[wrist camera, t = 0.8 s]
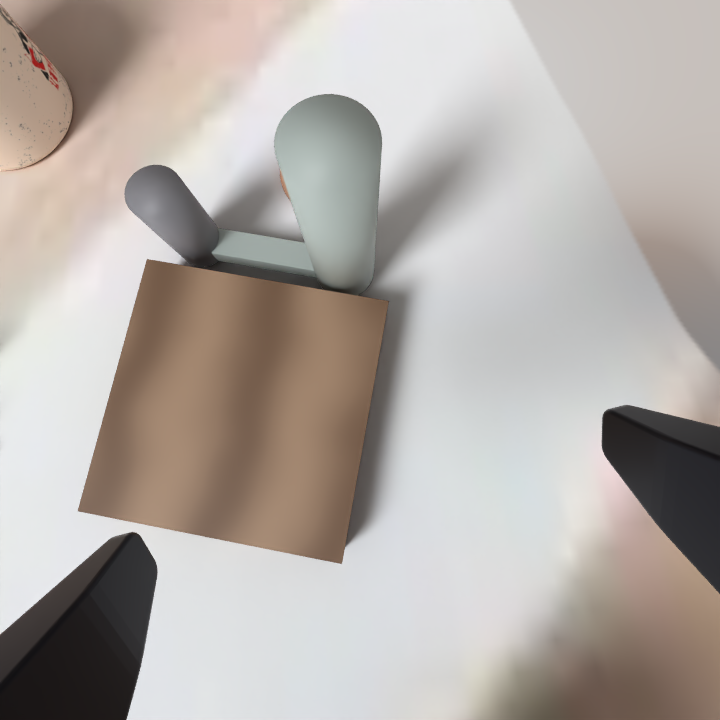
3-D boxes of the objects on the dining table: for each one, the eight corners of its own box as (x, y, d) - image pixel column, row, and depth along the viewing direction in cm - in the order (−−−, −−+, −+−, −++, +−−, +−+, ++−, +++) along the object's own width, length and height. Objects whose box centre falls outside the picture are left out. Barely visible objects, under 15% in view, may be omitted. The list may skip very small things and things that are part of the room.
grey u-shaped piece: (174, 268, 25) (14, 141, 14) (188, 215, 25) (46, 49, 14) (368, 302, 24) (371, 200, 13) (378, 247, 25) (390, 102, 14)
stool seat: (108, 501, 23) (77, 511, 21) (210, 117, 27) (194, 86, 25) (344, 548, 23) (342, 563, 20) (415, 150, 26) (420, 122, 24)
